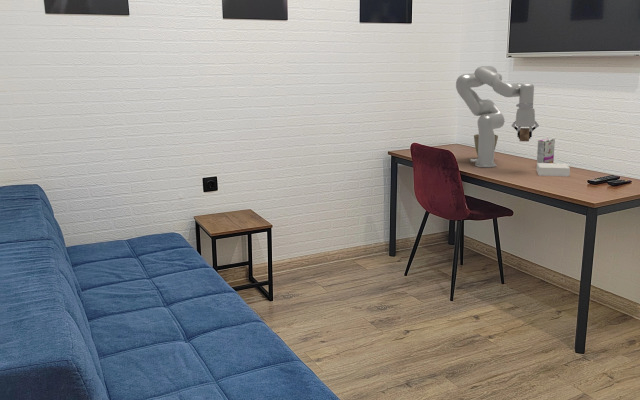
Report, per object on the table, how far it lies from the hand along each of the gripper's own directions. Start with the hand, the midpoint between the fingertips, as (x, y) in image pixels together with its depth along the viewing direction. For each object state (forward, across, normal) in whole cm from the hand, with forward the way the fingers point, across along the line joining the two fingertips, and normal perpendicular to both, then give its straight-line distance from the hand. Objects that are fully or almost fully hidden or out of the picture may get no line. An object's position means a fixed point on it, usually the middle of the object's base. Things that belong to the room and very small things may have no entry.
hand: (524, 138), depth 332 cm
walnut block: (+2, 0, 0) cm, 2 cm away
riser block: (+20, +16, +1) cm, 26 cm away
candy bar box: (+20, +12, +21) cm, 31 cm away
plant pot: (+19, -25, +35) cm, 47 cm away
